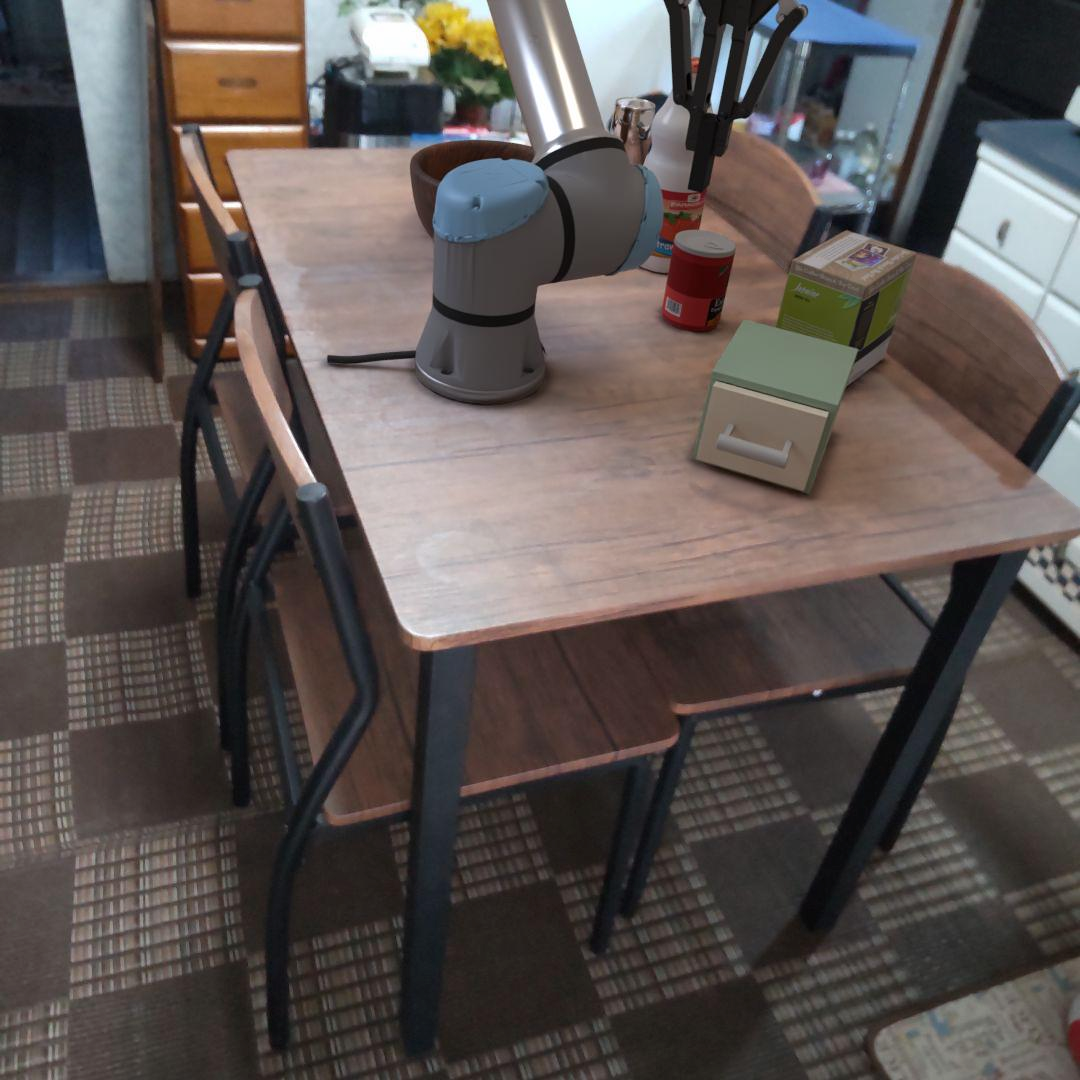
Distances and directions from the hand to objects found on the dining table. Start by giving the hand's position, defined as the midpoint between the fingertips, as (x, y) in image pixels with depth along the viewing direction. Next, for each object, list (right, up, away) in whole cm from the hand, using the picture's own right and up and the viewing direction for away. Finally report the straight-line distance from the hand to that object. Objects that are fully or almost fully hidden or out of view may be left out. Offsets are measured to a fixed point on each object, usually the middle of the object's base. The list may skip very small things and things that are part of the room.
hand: (698, 186), depth 96 cm
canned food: (+5, -5, +38) cm, 39 cm away
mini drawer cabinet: (+10, -24, +14) cm, 29 cm away
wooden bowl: (-23, +12, +55) cm, 61 cm away
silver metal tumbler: (-1, +25, +74) cm, 78 cm away
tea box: (+21, -12, +31) cm, 40 cm away
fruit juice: (+3, +7, +53) cm, 53 cm away
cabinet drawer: (+8, -25, +11) cm, 29 cm away
